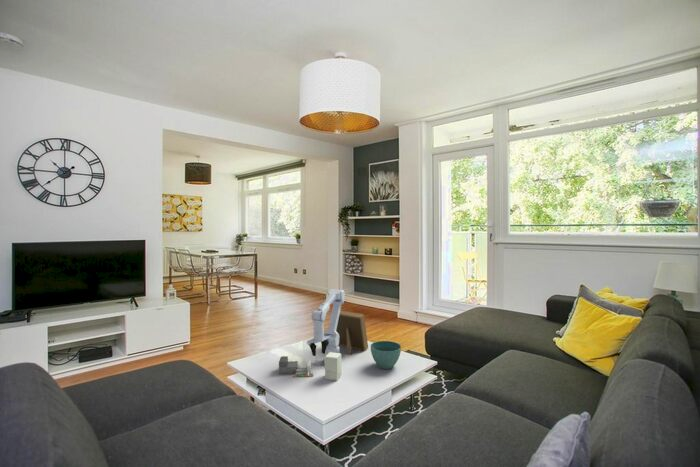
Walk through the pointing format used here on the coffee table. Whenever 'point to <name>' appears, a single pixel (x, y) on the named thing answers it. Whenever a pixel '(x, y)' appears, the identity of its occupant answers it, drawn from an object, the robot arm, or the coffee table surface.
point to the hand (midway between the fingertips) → (318, 354)
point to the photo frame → (352, 331)
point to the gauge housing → (287, 366)
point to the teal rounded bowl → (385, 353)
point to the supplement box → (333, 366)
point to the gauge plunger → (306, 367)
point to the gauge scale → (303, 375)
